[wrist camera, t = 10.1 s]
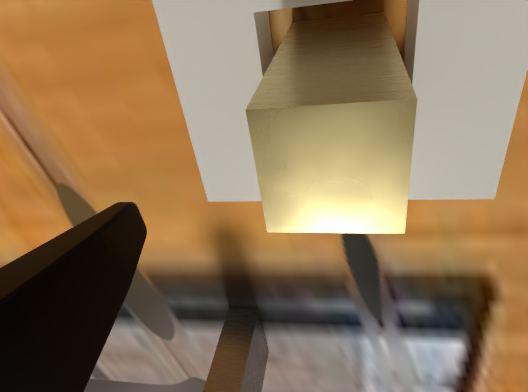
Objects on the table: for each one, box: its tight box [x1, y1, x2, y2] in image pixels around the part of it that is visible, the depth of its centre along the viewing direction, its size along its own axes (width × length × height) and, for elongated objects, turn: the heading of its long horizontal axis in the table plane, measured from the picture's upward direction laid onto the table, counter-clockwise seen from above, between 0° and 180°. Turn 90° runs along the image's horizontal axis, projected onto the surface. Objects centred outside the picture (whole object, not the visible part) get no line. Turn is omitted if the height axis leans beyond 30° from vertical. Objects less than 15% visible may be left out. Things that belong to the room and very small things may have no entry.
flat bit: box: [203, 307, 269, 392], centre depth 29 cm, size 2×6×8 cm, turn 8°
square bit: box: [246, 12, 417, 234], centre depth 14 cm, size 4×4×10 cm
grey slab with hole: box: [152, 0, 528, 202], centre depth 17 cm, size 14×12×3 cm
